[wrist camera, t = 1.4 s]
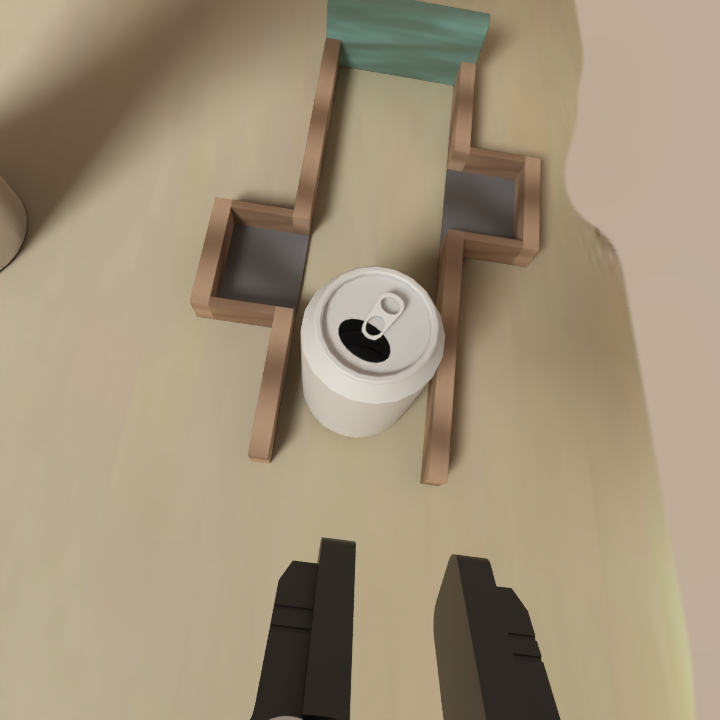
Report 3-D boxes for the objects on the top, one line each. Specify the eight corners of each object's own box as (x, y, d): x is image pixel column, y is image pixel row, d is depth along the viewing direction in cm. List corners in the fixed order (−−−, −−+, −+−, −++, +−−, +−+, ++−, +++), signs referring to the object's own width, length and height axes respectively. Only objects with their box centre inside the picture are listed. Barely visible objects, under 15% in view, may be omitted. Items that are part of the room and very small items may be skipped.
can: (279, 395, 37) (267, 332, 26) (345, 316, 39) (361, 225, 28) (367, 462, 36) (396, 427, 25) (430, 377, 38) (481, 309, 27)
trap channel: (520, 496, 36) (559, 489, 31) (165, 449, 35) (138, 431, 29) (530, 87, 48) (560, 26, 42) (262, 41, 46) (256, -28, 41)
